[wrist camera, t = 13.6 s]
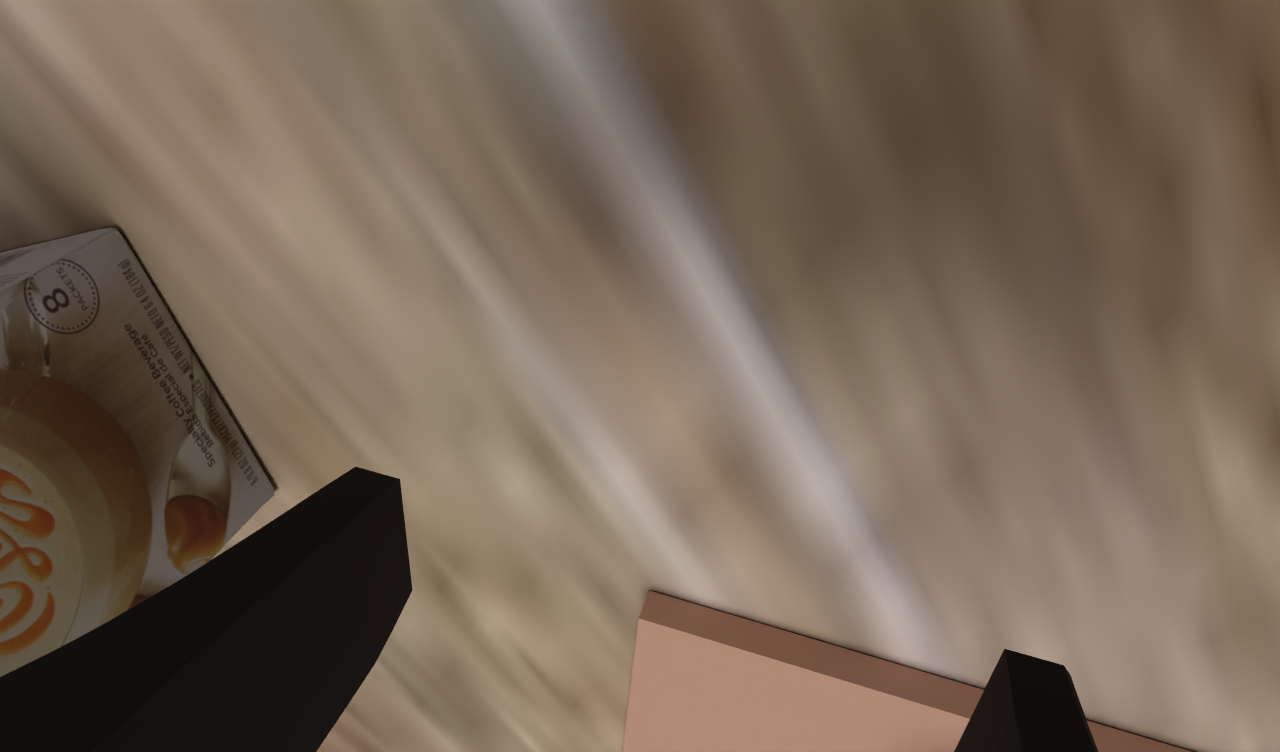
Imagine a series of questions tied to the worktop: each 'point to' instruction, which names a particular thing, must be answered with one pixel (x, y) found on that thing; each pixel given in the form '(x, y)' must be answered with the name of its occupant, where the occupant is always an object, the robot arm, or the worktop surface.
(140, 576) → the coffee box
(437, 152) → the worktop surface
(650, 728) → the jug holder
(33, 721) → the robot arm
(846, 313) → the worktop surface
